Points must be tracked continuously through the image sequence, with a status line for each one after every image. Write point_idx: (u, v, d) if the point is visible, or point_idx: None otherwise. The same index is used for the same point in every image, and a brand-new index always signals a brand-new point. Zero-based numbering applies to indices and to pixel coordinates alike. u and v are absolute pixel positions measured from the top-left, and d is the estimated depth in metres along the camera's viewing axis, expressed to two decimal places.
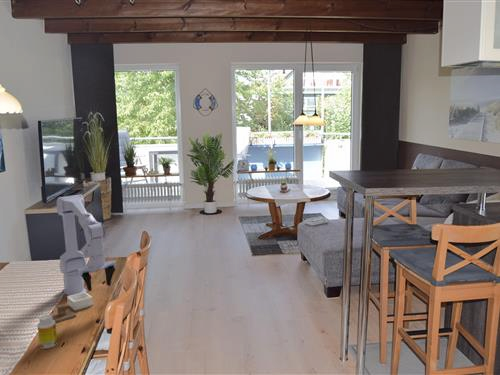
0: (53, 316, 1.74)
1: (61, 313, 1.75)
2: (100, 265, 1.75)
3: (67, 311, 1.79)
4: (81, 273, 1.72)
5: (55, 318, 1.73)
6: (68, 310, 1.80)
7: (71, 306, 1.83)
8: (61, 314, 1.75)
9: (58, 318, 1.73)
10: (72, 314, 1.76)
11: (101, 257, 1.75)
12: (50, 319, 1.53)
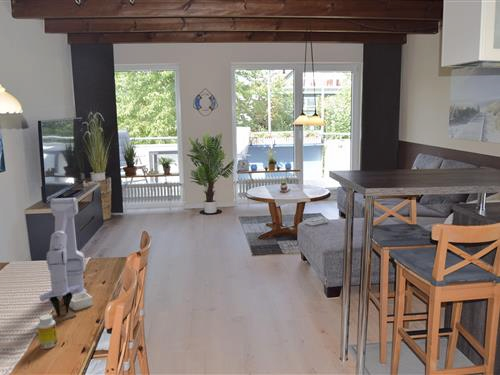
0: (53, 316, 1.74)
1: (61, 313, 1.75)
2: (62, 291, 1.72)
3: None
4: (42, 299, 1.70)
5: (55, 318, 1.73)
6: (68, 310, 1.80)
7: (71, 306, 1.83)
8: (61, 314, 1.75)
9: (58, 318, 1.73)
10: (72, 314, 1.76)
11: (63, 283, 1.72)
12: (50, 319, 1.53)
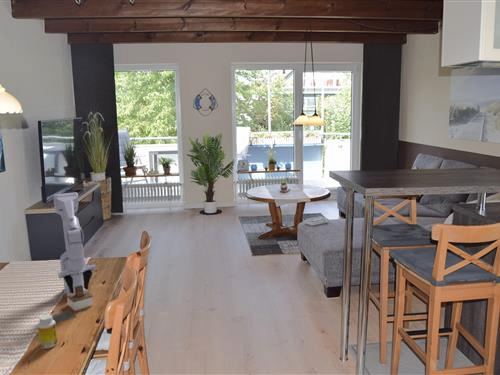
0: (71, 297, 1.83)
1: (78, 293, 1.84)
2: (79, 269, 1.81)
3: (84, 292, 1.88)
4: (61, 277, 1.79)
5: (73, 298, 1.82)
6: (84, 291, 1.89)
7: (71, 306, 1.83)
8: (78, 294, 1.84)
9: (76, 298, 1.82)
10: (89, 295, 1.85)
11: (80, 261, 1.81)
12: (50, 319, 1.53)
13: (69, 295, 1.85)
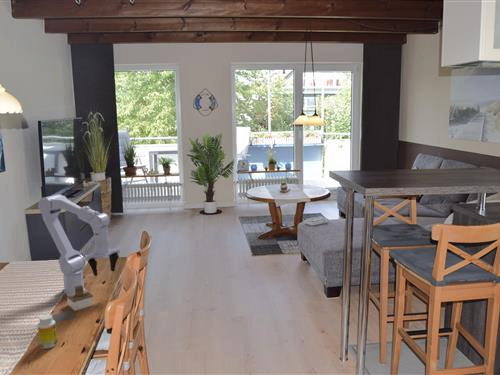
0: (71, 297, 1.83)
1: (78, 293, 1.84)
2: (105, 252, 1.90)
3: (84, 292, 1.88)
4: (88, 259, 1.88)
5: (73, 298, 1.82)
6: (84, 291, 1.89)
7: (71, 306, 1.83)
8: (78, 294, 1.84)
9: (76, 298, 1.82)
10: (89, 295, 1.85)
11: (106, 244, 1.90)
12: (50, 319, 1.53)
13: (69, 295, 1.85)
